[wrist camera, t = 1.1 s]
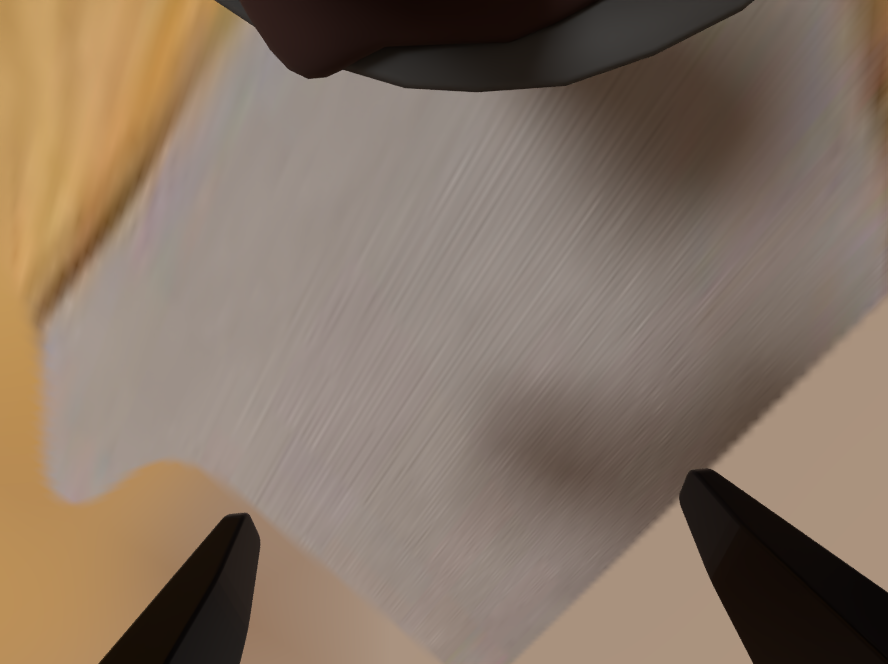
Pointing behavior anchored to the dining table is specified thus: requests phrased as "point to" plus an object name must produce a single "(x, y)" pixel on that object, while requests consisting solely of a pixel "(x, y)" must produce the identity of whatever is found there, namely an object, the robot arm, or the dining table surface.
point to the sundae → (474, 37)
